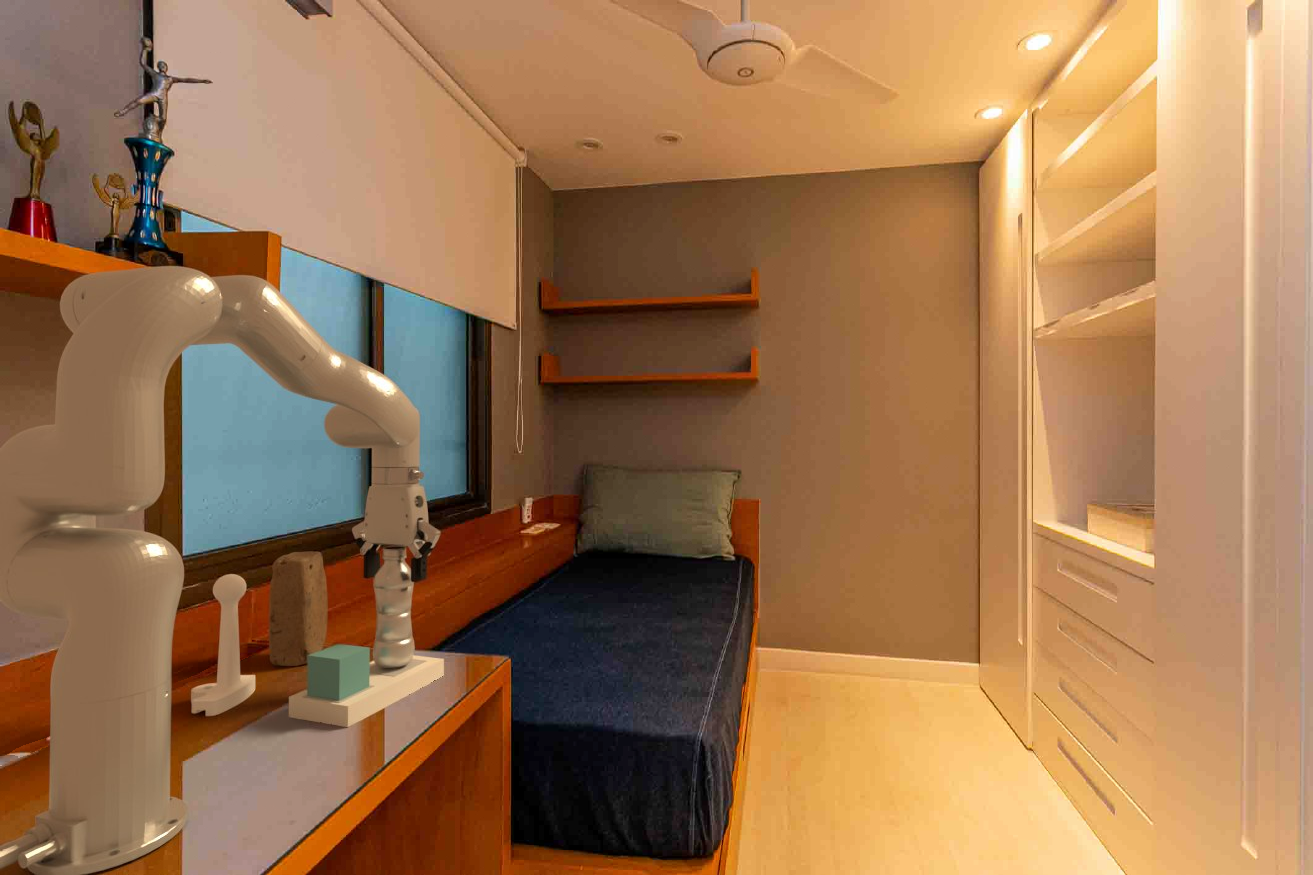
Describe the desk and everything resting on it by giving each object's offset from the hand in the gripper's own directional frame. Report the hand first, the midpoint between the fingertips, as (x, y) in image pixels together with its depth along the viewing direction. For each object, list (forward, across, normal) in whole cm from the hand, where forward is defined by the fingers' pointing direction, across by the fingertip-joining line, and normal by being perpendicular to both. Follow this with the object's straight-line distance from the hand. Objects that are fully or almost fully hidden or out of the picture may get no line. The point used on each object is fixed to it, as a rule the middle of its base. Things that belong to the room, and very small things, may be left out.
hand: (394, 578), depth 111 cm
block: (+18, +26, -5) cm, 32 cm away
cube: (+15, 0, +12) cm, 19 cm away
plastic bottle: (+15, 0, 0) cm, 15 cm away
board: (+18, 0, +5) cm, 18 cm away
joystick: (+18, +21, +15) cm, 32 cm away
